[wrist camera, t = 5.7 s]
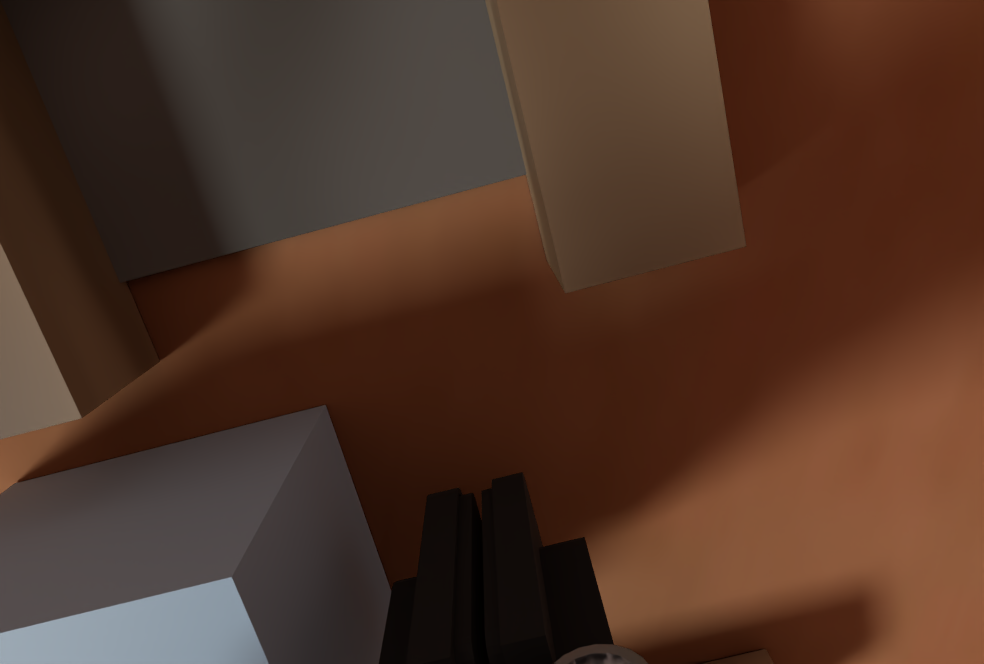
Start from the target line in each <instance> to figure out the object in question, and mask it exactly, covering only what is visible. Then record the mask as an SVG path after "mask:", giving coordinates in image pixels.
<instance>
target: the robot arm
mask: <svg viewBox="0 0 984 664" xmlns="http://www.w3.org/2000/svg"><path fill="white" fill-rule="evenodd" d="M481 494H482V520H481V516H480V513H479V509H478V506H477V503H476V499H475V497H474V494H473V493H470V494H466V495H463V494H462V492H461V490H460V488H455V489H451V490H447V491H443V492H438V493H434V494H430V495H428V496H427V502H426V510H425V517H424V525H423V533H422V541H421V549H420V557H419V565H418V573H417V577H413V578H409V579H404V580H400V581H396V582H395V583H394V584H393V587H392V591H391V597H390V603H389V608H388V614H387V619H386V625H385V631H384V636H383V642H382V648H381V653H380V659H379V664H648V663H647V662H646V661H645V660H644V658H643V657H641V656H640V655H638V654H637V653H635V652H633V651H632V650H630V649H628V648H624V647H621V646H617V645H614V643H613V640H612V636H611V632H610V629H609V625H608V621H607V618H606V614H605V611H604V607H603V603H602V600H601V596H600V592H599V589H598V585H597V581H596V578H595V574H594V571H593V567H592V563H591V560H590V556H589V552H588V549H587V545H586V542H585V538H584V537H583V538H578V539H574V540H570V541H566V542H561V543H557V544H553V545H549V546H544V547H543V545H542V541H541V537H540V534H539V530H538V526H537V522H536V519H535V515H534V511H533V507H532V504H531V500H530V496H529V492H528V489H527V485H526V481H525V478H524V475H523V472H521V473H517V474H513V475H509V476H505V477H501V478H496V479H492V488H491V489H487V490H483V491H482V493H481Z"/></svg>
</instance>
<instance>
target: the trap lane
mask: <svg viewBox="0 0 984 664" xmlns="http://www.w3.org/2000/svg"><path fill="white" fill-rule="evenodd" d="M522 175H526V176H527V180H528V185H529V189H530V193H531V197H532V201H533V205H534V210H535V214H536V218H537V222H538V226H539V230H540V234H541V239H542V243H543V247H544V251H545V255H546V259H547V262H548V264H549V265H550V267H551V269H552V271H553V272H554V274H555V276H556V278H557V279H558V281H559V283H560V285H561V287H562V288H563V290H564V292H565V293H569V292H573V291H576V290H580V289H584V288H588V287H592V286H596V285H600V284H604V283H607V282H611V281H615V280H619V279H623V278H627V277H631V276H635V275H638V274H642V273H646V272H650V271H654V270H658V269H662V268H666V267H669V266H673V265H677V264H681V263H685V262H689V261H693V260H696V259H700V258H704V257H708V256H712V255H716V254H720V253H724V252H727V251H731V250H735V249H739V248H743V247H746V241H745V235H744V228H743V222H742V215H741V209H740V202H739V196H738V190H737V183H736V177H735V170H734V164H733V157H732V151H731V145H730V138H729V132H728V125H727V119H726V112H725V106H724V100H723V93H722V87H721V80H720V74H719V67H718V61H717V55H716V48H715V42H714V35H713V29H712V22H711V16H710V10H709V3H708V0H0V439H3V438H7V437H11V436H15V435H19V434H23V433H26V432H30V431H34V430H38V429H42V428H46V427H50V426H54V425H57V424H61V423H65V422H69V421H73V420H77V419H81V418H83V417H84V416H86V415H87V414H88V413H90V412H91V411H92V410H94V409H95V408H97V407H98V406H99V405H101V404H102V403H103V402H105V401H106V400H108V399H109V398H110V397H112V396H113V395H114V394H116V393H117V392H118V391H120V390H121V389H123V388H124V387H125V386H127V385H128V384H129V383H131V382H132V381H134V380H135V379H136V378H138V377H139V376H140V375H142V374H143V373H145V372H146V371H147V370H149V369H150V368H151V367H153V366H154V365H156V364H157V363H158V362H160V361H159V358H158V356H157V354H156V351H155V349H154V347H153V344H152V342H151V339H150V337H149V335H148V332H147V330H146V328H145V325H144V323H143V320H142V318H141V316H140V313H139V311H138V308H137V306H136V304H135V301H134V299H133V297H132V294H131V292H130V289H129V287H128V285H127V282H126V281H129V280H133V279H136V278H140V277H144V276H148V275H151V274H155V273H159V272H163V271H166V270H170V269H174V268H178V267H181V266H185V265H189V264H193V263H196V262H200V261H204V260H208V259H211V258H215V257H219V256H223V255H226V254H230V253H234V252H238V251H241V250H245V249H249V248H252V247H256V246H260V245H264V244H267V243H271V242H275V241H279V240H282V239H286V238H290V237H294V236H297V235H301V234H305V233H309V232H312V231H316V230H320V229H324V228H327V227H331V226H335V225H339V224H342V223H346V222H350V221H353V220H357V219H361V218H365V217H368V216H372V215H376V214H380V213H383V212H387V211H391V210H395V209H398V208H402V207H406V206H410V205H413V204H417V203H421V202H425V201H428V200H432V199H436V198H440V197H443V196H447V195H451V194H454V193H458V192H462V191H466V190H469V189H473V188H477V187H481V186H484V185H488V184H492V183H496V182H499V181H503V180H507V179H511V178H514V177H518V176H522ZM703 664H774V663H773V661H772V659H771V657H770V656H769V654H768V652H767V650H766V649H763V650H759V651H755V652H750V653H746V654H742V655H737V656H733V657H729V658H724V659H720V660H716V661H711V662H707V663H703Z"/></svg>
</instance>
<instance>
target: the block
mask: <svg viewBox="0 0 984 664" xmlns="http://www.w3.org/2000/svg"><path fill="white" fill-rule="evenodd" d="M390 597H391V589H390V586H389V583H388V580H387V577H386V575H385V572H384V569H383V566H382V563H381V560H380V558H379V555H378V552H377V549H376V546H375V543H374V541H373V538H372V535H371V532H370V529H369V526H368V524H367V521H366V518H365V515H364V512H363V509H362V507H361V504H360V501H359V498H358V495H357V492H356V490H355V487H354V484H353V481H352V478H351V475H350V473H349V470H348V467H347V464H346V461H345V458H344V456H343V453H342V450H341V447H340V444H339V441H338V439H337V436H336V433H335V430H334V427H333V424H332V422H331V419H330V416H329V413H328V410H327V407H326V405H323V406H319V407H315V408H311V409H307V410H303V411H299V412H295V413H291V414H287V415H283V416H279V417H276V418H272V419H268V420H264V421H260V422H256V423H252V424H248V425H244V426H240V427H236V428H232V429H228V430H224V431H220V432H216V433H212V434H208V435H204V436H201V437H197V438H193V439H189V440H185V441H181V442H177V443H173V444H169V445H165V446H161V447H157V448H153V449H149V450H145V451H141V452H137V453H133V454H129V455H126V456H122V457H118V458H114V459H110V460H106V461H102V462H98V463H94V464H90V465H86V466H82V467H78V468H74V469H70V470H66V471H62V472H58V473H54V474H51V475H47V476H43V477H39V478H35V479H31V480H27V481H23V482H19V483H15V484H13V485H12V486H10V487H9V488H8V489H7V490H5V491H4V492H3V493H1V494H0V664H379V659H380V653H381V648H382V642H383V636H384V631H385V625H386V619H387V614H388V608H389V603H390Z"/></svg>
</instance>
